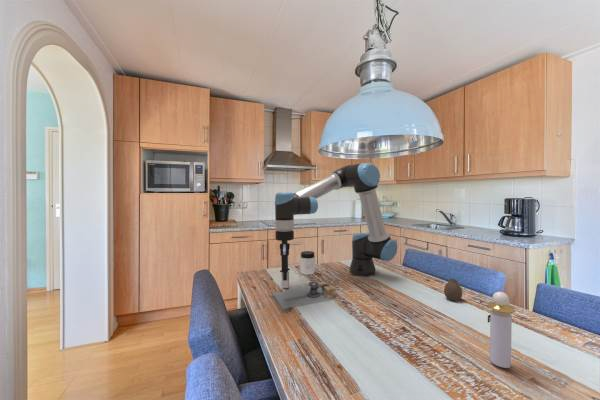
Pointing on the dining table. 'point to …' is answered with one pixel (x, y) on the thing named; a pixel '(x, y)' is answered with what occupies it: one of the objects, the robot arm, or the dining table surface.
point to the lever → (305, 286)
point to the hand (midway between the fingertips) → (285, 287)
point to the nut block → (329, 292)
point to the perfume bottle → (500, 330)
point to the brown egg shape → (453, 290)
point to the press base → (299, 298)
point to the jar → (307, 263)
